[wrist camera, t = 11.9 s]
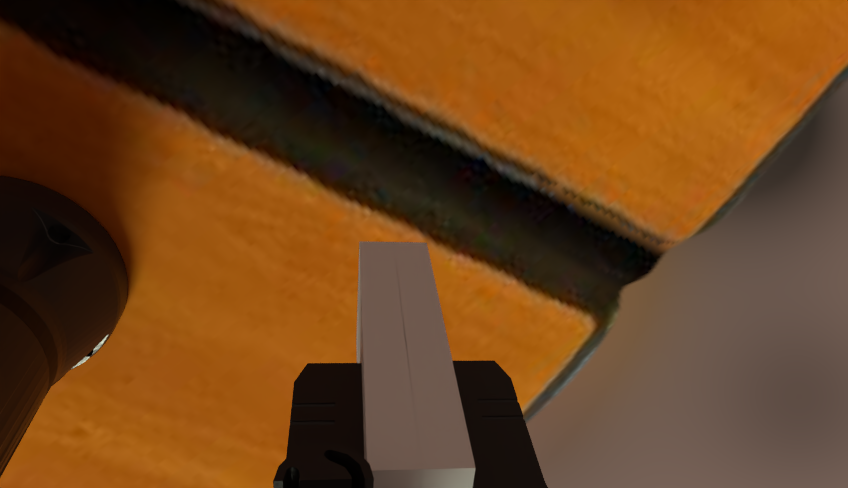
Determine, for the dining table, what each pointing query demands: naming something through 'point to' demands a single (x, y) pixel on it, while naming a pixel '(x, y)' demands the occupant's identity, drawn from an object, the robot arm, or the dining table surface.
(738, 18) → the dining table surface
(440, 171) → the dining table surface
